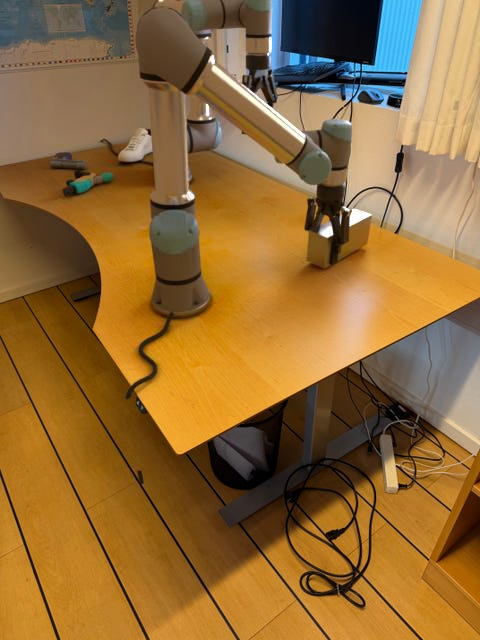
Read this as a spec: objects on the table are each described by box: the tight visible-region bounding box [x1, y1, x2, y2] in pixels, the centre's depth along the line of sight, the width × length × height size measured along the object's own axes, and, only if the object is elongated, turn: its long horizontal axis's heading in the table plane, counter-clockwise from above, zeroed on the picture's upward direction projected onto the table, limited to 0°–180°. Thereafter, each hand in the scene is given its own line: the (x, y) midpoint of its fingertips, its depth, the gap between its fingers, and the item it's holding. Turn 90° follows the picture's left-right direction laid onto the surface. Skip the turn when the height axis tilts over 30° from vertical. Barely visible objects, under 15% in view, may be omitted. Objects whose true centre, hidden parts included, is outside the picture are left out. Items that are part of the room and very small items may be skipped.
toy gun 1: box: [48, 151, 87, 170], centre depth 217 cm, size 4×19×15 cm
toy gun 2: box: [62, 169, 114, 197], centre depth 193 cm, size 4×26×15 cm
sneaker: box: [117, 127, 152, 163], centre depth 223 cm, size 10×29×12 cm, turn 163°
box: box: [306, 208, 373, 269], centre depth 141 cm, size 22×7×10 cm, turn 134°
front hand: (323, 258), depth 140 cm, fingers closed on box, 7 cm apart
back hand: (257, 129), depth 152 cm, fingers open, 13 cm apart
